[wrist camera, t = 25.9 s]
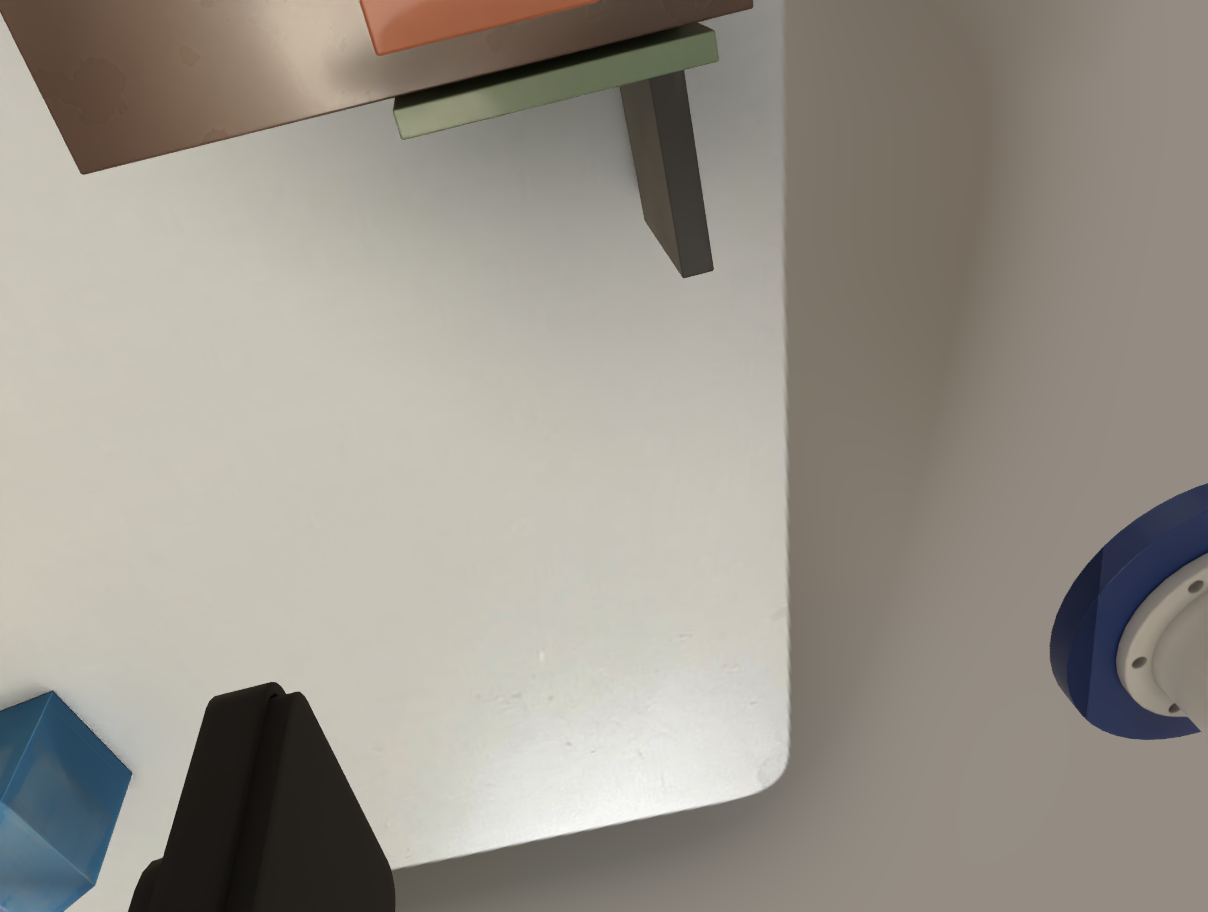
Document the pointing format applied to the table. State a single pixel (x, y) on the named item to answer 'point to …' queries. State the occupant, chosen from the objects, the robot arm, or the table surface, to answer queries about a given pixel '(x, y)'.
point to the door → (650, 110)
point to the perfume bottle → (53, 805)
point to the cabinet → (268, 63)
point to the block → (447, 18)
